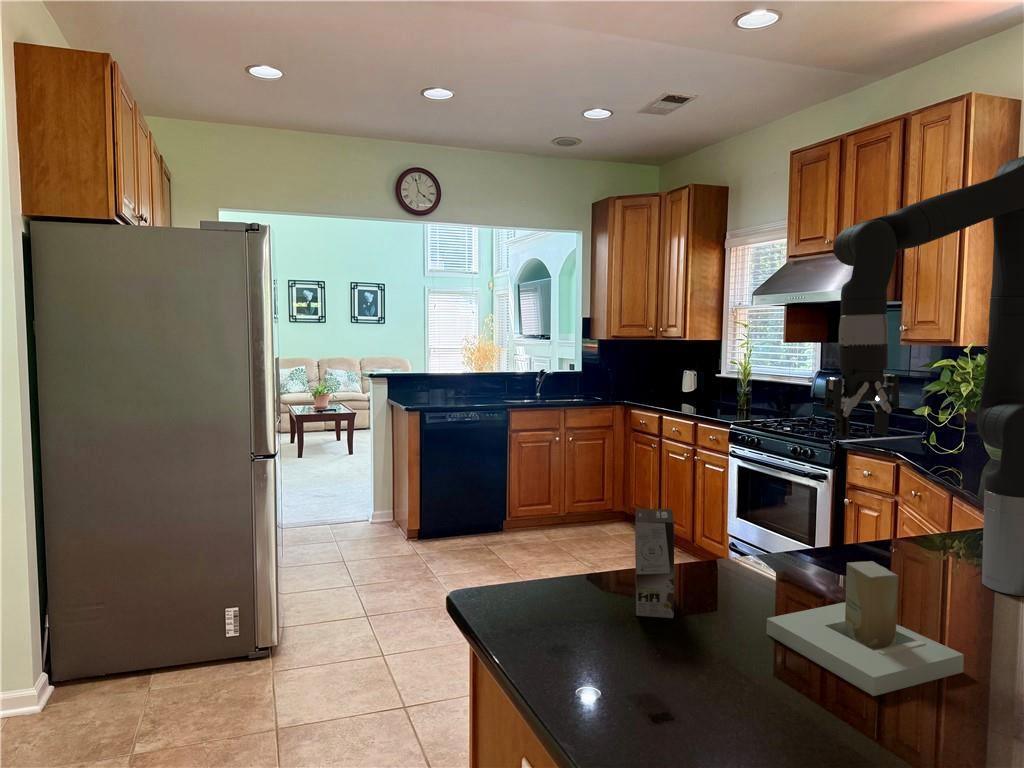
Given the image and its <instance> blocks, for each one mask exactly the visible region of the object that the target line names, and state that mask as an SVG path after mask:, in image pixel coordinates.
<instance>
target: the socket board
mask: <svg viewBox="0 0 1024 768" xmlns="http://www.w3.org/2000/svg"><path fill="white" fill-rule="evenodd" d="M845 607H846V601H845V602H840V603H835V604H830V605H825V606H819V607H815V608H811V609H806V610H801V611H796V612H791V613H785V614H781V615H777V616H771V617H767V618H766V634H767V635H768V636H769V637H772V638H773V639H775V640H776V641H778V642H780V643H781V644H783V645H785V646H786V647H788V648H790V649H792V650H793V651H795V652H797V653H799V654H800V655H802V656H804V657H806V658H807V659H809V660H811V661H813V662H814V663H815V664H818V665H819V666H820V667H823V668H824V669H826V670H828V671H829V672H831V673H833V674H834V675H836V676H838V677H840V678H842V679H843V680H845V681H847V682H848V683H850V684H851V685H854V686H855V687H857V688H858V689H860V690H862V691H864V692H865V693H868V694H869V695H871V696H872V697H875V696H880V695H884V694H886V693H890V692H894V691H897V690H902V689H906V688H910V687H913V686H916V685H920V684H921V685H922V684H924V683H928V682H933V681H935V680H939V679H943V678H948V677H950V676H954V675H958V674H963V673H964V659H965V658H964V655H965V654H964V653H961V652H959V651H957V650H955V649H953V648H950V647H948V646H946V645H944V644H941V643H940V642H937V641H935V640H934V639H933V640H932V639H931V638H929V637H927V636H924V635H921V634H919V633H917V632H915V631H913V630H910V629H908V628H907V627H906V628H905V627H904V626H901V625H899V624H897V623H896V646H892V647H888V648H883V649H879V650H875V651H873V650H871V649H870V648H868V647H866V646H864V645H862V644H860V643H858V642H856V641H854V640H852V639H850V638H848V637H846V636H845Z"/></svg>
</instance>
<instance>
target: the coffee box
mask: <svg viewBox="0 0 1024 768" xmlns="http://www.w3.org/2000/svg"><path fill="white" fill-rule="evenodd" d="M634 518H635V521H634V522H635V524H634V527H635V529H634V530H635V531H634V532H635V533H634V538H635V543H634V544H635V547H634V548H635V551H634V555H635V604H636V605H635V610H636V611H635V615H636V616H637V617H651V618H664V619H665V618H667V619H673V618H674V616H675V615H674V614H675V521H674V520H675V519H674V514H673V509H671V508H647V509H646V508H636V509H635V517H634Z"/></svg>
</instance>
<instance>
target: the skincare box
mask: <svg viewBox="0 0 1024 768" xmlns="http://www.w3.org/2000/svg"><path fill="white" fill-rule="evenodd" d="M845 579H846V581H845V582H846V584H845V602H846V607H845V636H846V637H848V638H850V639H852V640H854V641H856V642H858V643H860V644H862V645H864V646H866V647H868V648H870V649H871V650H873V651H875V650H879V649H883V648H888V647H892V646H896V624H897V621H898V620H897V619H898V615H897V614H898V613H897V611H898V589H899V587H898V585H899V575H898V574H896V573H894V572H892V571H890V570H889V569H888V568H886V567H884V566H882V565H880V564H878V563H876V561H873V560H869V561H854V562H853V561H851V562H846V576H845Z"/></svg>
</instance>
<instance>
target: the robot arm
mask: <svg viewBox="0 0 1024 768" xmlns="http://www.w3.org/2000/svg"><path fill="white" fill-rule="evenodd" d="M990 219H992V229H993V230H992V232H993V247H992V248H993V249H992V251H993V252H992V253H993V254H992V277H991V287H990V295H989V296H990V299H989V311H988V312H989V315H988V335H987V336H988V337H987V338H988V339H987V350H986V361H985V362H986V363H985V372H984V379H983V385H982V390H981V394H980V401H979V406H978V411H977V417H976V419H977V420H976V426H977V427H976V428H977V429H976V430H977V433H978V435H979V437H980V439H981V440H982V441H983V443H984V444H985V445H987V446H989V447H991V448H993V449H995V450H999V451H1000V462H999V467H998V468H997V469H996V470H991V471H989V472H988V473H987V472H986V474H985V476H984V491H983V494H984V497H983V532H982V536H983V537H982V564H981V566H982V567H981V569H982V570H981V572H982V574H981V576H982V577H981V583H982V584H983V586H985V587H987V588H988V589H991V590H992V591H996V592H999V593H1003V594H1007V595H1013V596H1020V597H1024V155H1022V156H1020V157H1017V158H1013V159H1010V160H1008V161H1007V162H1005V163H1003V164H1002V165H1001V166H999V168H998V169H997V171H996V172H995V174H994V177H993V178H990V179H987V180H984V181H981V182H978V183H974V184H971V185H968V186H965V187H961V188H957V189H954V190H950V191H948V192H943V193H940V194H937V195H934V196H931V197H928V198H924V199H923V200H920V201H918V202H914V203H912V204H909V205H906V206H904V207H902V208H899V209H898V210H895V211H892V212H891V213H889V214H885V215H882V216H879V217H875V218H872V219H868V220H866V221H865V220H864V221H863V222H859V223H856V224H853V225H850V226H847V227H845V228H844V229H842V230H841V231H840V232H839V234H837V236H836V238H835V240H834V243H833V253H834V256H835V258H836V259H837V260H838V261H839V262H840V263H841V264H844V265H846V266H848V267H849V266H850V267H852V273H851V277H850V279H849V280H848V281H847V282H845V283H844V284H843V285H842V287H841V290H840V291H841V292H840V318H839V326H838V368H839V370H840V371H841V376H840V378H839V377H826V379H825V387H824V388H825V389H824V401H823V402H824V408H823V411H824V413H827V414H831V415H833V417H834V434H835V437H836V438H837V439H841V440H849V438H850V422H851V421H850V416H849V415H850V413H851V412H852V410H853V408H854V407H857V406H858V404H859V403H863V402H868V404H871V406H872V408H873V409H874V411H875V412H874V413H873V415H874V416H873V419H874V420H873V433H874V434H876V435H879V436H885V435H888V431H889V428H890V427H889V426H890V424H889V422H890V413H891V412H892V411H893V410H895V409H899V407H900V385H899V384H900V383H899V382H900V381H899V380H900V379H899V378H900V377H899V375H898V374H893V373H891V374H890V373H884V371H885V370H887V369H888V366H889V365H888V364H889V363H888V362H889V360H888V359H889V325H888V324H889V323H888V315H887V313H888V310H887V309H888V307H887V306H888V287H889V283H890V280H891V278H892V273H893V269H894V265H895V263H896V262H895V261H896V258H897V257H896V256H897V253H898V251H902V250H908V249H912V248H916V247H919V246H922V245H925V244H928V243H931V242H934V241H935V240H936V241H937V240H939V239H942V238H944V237H947V236H949V235H952V234H954V233H957V232H960V231H961V230H964V229H967V228H969V227H972V226H974V225H977V224H980V223H982V222H985V221H987V220H990ZM890 396H891V398H890Z"/></svg>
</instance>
